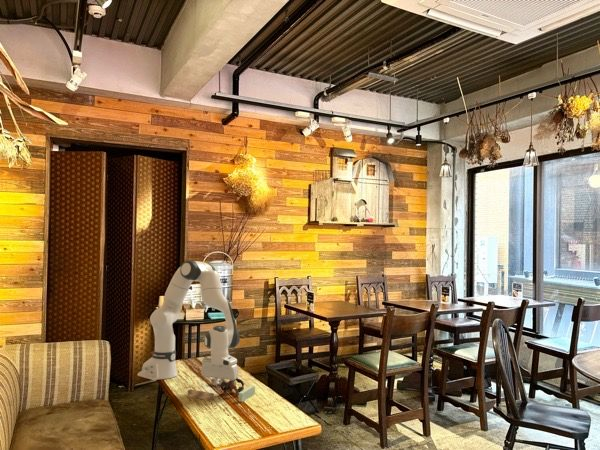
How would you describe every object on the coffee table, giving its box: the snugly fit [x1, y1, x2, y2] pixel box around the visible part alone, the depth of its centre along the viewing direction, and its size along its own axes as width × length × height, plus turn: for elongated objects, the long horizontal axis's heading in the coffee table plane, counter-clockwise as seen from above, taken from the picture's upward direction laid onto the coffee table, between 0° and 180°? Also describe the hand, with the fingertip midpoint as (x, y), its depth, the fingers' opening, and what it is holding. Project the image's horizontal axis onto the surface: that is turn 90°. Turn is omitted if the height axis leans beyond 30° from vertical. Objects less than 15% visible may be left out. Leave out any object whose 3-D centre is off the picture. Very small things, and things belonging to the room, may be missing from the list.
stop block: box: [238, 385, 256, 403], centre depth 222 cm, size 2×12×4 cm, turn 156°
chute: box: [187, 377, 237, 402], centre depth 230 cm, size 14×22×3 cm, turn 156°
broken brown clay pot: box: [219, 377, 245, 396], centre depth 228 cm, size 12×10×8 cm
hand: (219, 386), depth 229 cm, fingers closed
